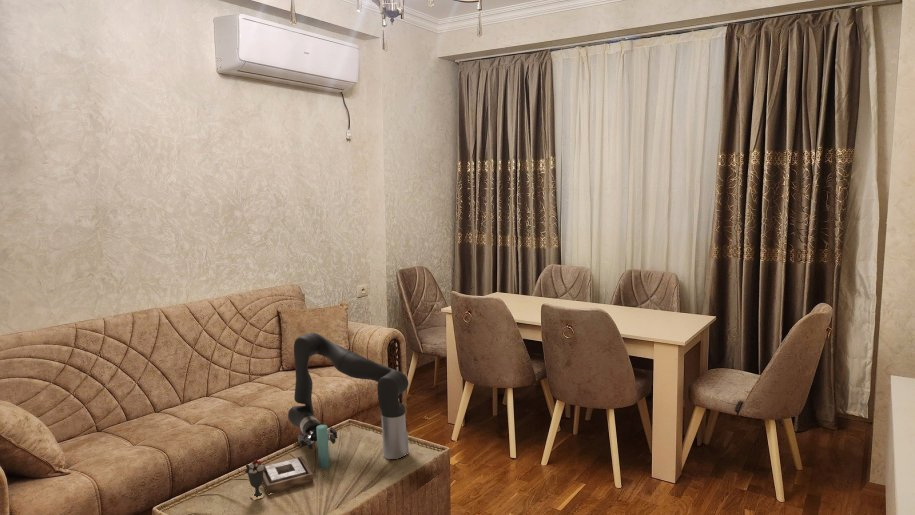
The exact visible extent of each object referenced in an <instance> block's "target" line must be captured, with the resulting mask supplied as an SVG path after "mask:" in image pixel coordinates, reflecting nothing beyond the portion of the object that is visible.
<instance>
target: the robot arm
mask: <svg viewBox="0 0 915 515" xmlns="http://www.w3.org/2000/svg"><path fill="white" fill-rule="evenodd" d="M314 355H319V356H322V357H324V358H327V359H328V360H330V362H331V364H332V365H333V367H334V368H335V369H336V370H337V371H338V372H340V373H341V374H343V375H346V376H347V377H350V378H353V379H360V380H367V381H368V380H370V381H375V382H377V384H376V385H377V387H376V388H377V398H378V399H377V400H378V407H379V409H380V414H381V433H382V454H383V457H384V458H385V459H387V460H390V459H397V460H399V459H398V458H401V457H403V456H404V455H405V454H407V453H409V452H410V450H409V432H408V430H407V426H406V424H407V423H406V422H407V421H406V406H405V404H404V403H402V402H400V399H399V396H400V395H402V393H404V392H406V390H407V389H408V387H409V379H408V377H407V376H406V375H405V374H404V373H403V372H402V371H400V370H397V369H394V368H391V367H389V366H385V365H383V364H379V363H378V362H375V361H374V360H372V359H369V358H367V357H364V356H362V355H360V354H359V353H356V352H354V351H351V350H349V349H347V348H344V347H342V346H341V345H338V344H336V343H334V342H332V341H331V340H329V339H327V338H326V337H324V336H322V335H321V334H319V333H316V332H308V333H306V334H303V335H301V336H299V337H297V338H296V339H295V340H294V342H293V357H294V370H295V386H294V397H293V398H294V399H293V400H294V401H295V402H296V403H297V404H301V405H297V406H292V407H290V408H289V410H288V413H287V418H288V420H289V422H290V423H291V424H292V425H294V426H295V427H297V428H300V430H301V434H298V436H297V439H298V444H299V445H300V447H305V446H306V447H307V448H308V449H310V450H313V443H314V442H317V430H316V427H317V426H319V425H322V424H321V423H320V421H319V420H318V419H317V418H315V412H314V406H313V402H312V395H313V378H312V376H311V374H310V371H309V368H308V365H309V360H310V357H313V356H314ZM327 431H328V441H330V442H331V443H332V445H334V444H335V443H336V439H338V431H337V430H336V429H335V428H334V427H329V429H327ZM302 434H303V435H302ZM409 454H410V453H409ZM403 458H404V457H403ZM401 459H402V458H401Z"/></svg>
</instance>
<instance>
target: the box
mask: <svg viewBox="0 0 915 515" xmlns="http://www.w3.org/2000/svg"><path fill="white" fill-rule="evenodd" d="M296 458H298V460H299V462H300V463H301V465H302V467H303V468H304V470H305V472H306V475H302V476H298V477H294V478H290V479H286V480H283V481H279V482H275V483H271V484H270V482H269V480H268V478H267V476H266V472H265V470H264V472H263V483H262V484H264V485H263V487H264V486H265V487H264V489H265V488H266V489H265V491H266V490H267V492H266V493H268V494H270V493H274V494H276V492H278V493H282V492H285V491H289V490H293V489H297V488H300V487H303V486H308V485H311V484H314V474H313V472H312V471H311V468H310V467H309V466H308V464H307V463H306V461H305V460H304V458H303V456H302V455H301V456H296V457H292V458H288V459H285V460H283V459H282V460H280V461H275V462H272V463H268V464H262V465H263V466H268V465H272V464H276V463H280V462H284V461H288V460H292V459H296ZM290 472H291V471H290ZM286 473H287V472H286ZM282 474H283V473H282ZM268 494H267V495H268Z"/></svg>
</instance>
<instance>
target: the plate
mask: <svg viewBox="0 0 915 515" xmlns="http://www.w3.org/2000/svg"><path fill="white" fill-rule="evenodd" d="M295 458H296V457H295ZM291 459H292V458H291ZM265 468H266V470H265V472H266V476H267V478H268V480H269V482H270V484H271V483H275V482H279V481H283V480H286V479H290V478H294V477H298V476H302V475H306V472H305V470H304V468H303V467H302V465H301V463H300V462H299V460H298V458H296V459H292V460H288V461H284V462H280V463H276V464H272V465H268V466H265ZM290 471H291V472H290ZM286 472H287V473H286ZM282 473H283V474H282Z"/></svg>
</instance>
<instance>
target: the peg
mask: <svg viewBox="0 0 915 515" xmlns="http://www.w3.org/2000/svg"><path fill="white" fill-rule="evenodd" d="M316 430H317V441H316V442H317V455H318V456H317V457H318V458H317V459H318V468H319V469H320V470H326V469H328V468H330V450H329V440H328V431H327V430H328V425H327V424H321V425H319V426H317V427H316Z"/></svg>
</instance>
